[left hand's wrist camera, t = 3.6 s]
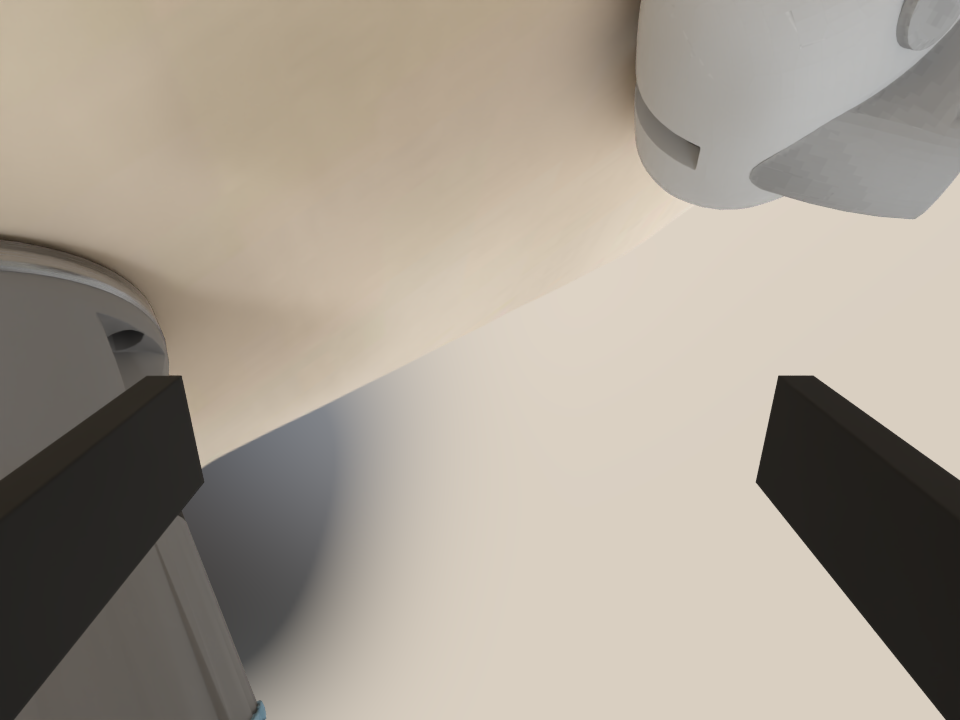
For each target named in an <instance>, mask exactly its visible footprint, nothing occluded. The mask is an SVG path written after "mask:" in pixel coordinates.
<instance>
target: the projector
mask: <svg viewBox="0 0 960 720" xmlns="http://www.w3.org/2000/svg"><path fill="white" fill-rule="evenodd" d="M636 79H637V80H636V87H635V108H634V117H635V139H636V146H637V151H638V154H639V157H640V159H641V161H642V164H643V166H644V167H645V169H646V171H647V172H648V173H649V175H650V176H651V177H652V179H653V180H654V181H655V182H656V183H657V184H658V185H659V186H660V187H661V188H663V189H664V190H665V191H666V192H668V193H669V194H671V195H672V196H674V197H676V198H678V199H681V200H683V201H686V202H688V203H691V204H694V205H698V206H701V207H706V208H712V209H719V210H720V209H743V208H749V207H754V206H757V205H761V204H764V203H767V202H770V201H773V200H776V199H778V198H781V197H783V196H786V197H789V198H793V199H796V200H800V201H803V202H807V203H811V204H815V205H819V206H824V207H828V208H832V209H837V210H841V211H846V212H853V213H859V214H865V215H872V216H878V217H891V218H904V219H916V218H917V217H918V216H920V215H921V214H923V213H924V212H925V211H926V210H927V209H928V208H929V207H930V206H931V205H932V204H933V203H934V202H935V201H936V200H937V199H938V198H939V197H940V196H941V194H942V193H943V192H944V191H945V190H946V189H947V188H948V186H949V185H950V184H951V183H952V181H953V180H954V179H955V178H956V176H957V175H958V174H959V173H960V0H641V4H640V11H639V20H638V32H637V48H636Z"/></svg>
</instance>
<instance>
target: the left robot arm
mask: <svg viewBox="0 0 960 720" xmlns="http://www.w3.org/2000/svg"><path fill="white" fill-rule="evenodd" d="M203 483H204V479H203V474H202V469H201V465H200V460H199V455H198V451H197V446H196V441H195V437H194V432H193V427H192V422H191V418H190V413H189V408H188V404H187V399H186V394H185V390H184V385H183V380H182V376H169V359H168V354H167V349H166V343H165V338H164V336H163V333H162V331H161V328H160V326H159V323H158V321H157V319H156V316H155V314H154V312H153V309H152V307H151V305H150V304H149V302H148V301H147V299H146V298H145V297H144V295H143V294H142V293H141V292H140V291H139V290H138V289H137V288H136V287H135V286H133V285H132V284H131V283H130V282H129V281H127V280H126V279H124V278H123V277H121V276H120V275H118V274H117V273H115V272H113V271H111V270H109V269H107V268H105V267H103V266H101V265H99V264H97V263H94V262H92V261H89V260H87V259H84V258H81V257H78V256H75V255H72V254H69V253H66V252H62V251H59V250H55V249H51V248H47V247H43V246H37V245H32V244H27V243H21V242H15V241H7V240H0V720H265V719H266V711H265V707H264V705H263V703H262V701H261V700H259V701H256V699H255V696H254V694H253V691H252V689H251V686H250V684H249V681H248V678H247V676H246V674H245V671H244V668H243V666H242V663H241V661H240V658H239V656H238V653H237V650H236V648H235V645H234V643H233V640H232V638H231V635H230V633H229V630H228V628H227V625H226V622H225V620H224V617H223V615H222V612H221V610H220V607H219V605H218V602H217V599H216V597H215V594H214V592H213V589H212V587H211V584H210V582H209V579H208V576H207V574H206V571H205V569H204V566H203V564H202V561H201V559H200V556H199V554H198V551H197V548H196V546H195V543H194V541H193V538H192V536H191V533H190V531H189V528H188V526H187V523H186V521H185V519H184V516H183V514H182V509H183V508H184V507H185V506H186V504H187V503H188V502H189V501H190V499H191V498H192V497H193V496H194V494H195V493H196V492H197V491H198V489H199V488H200V487H201V486H202V484H203ZM756 483H757V484H758V485H759V487H760V488H761V489H762V491H763V492H764V493H765V494H766V496H767V497H768V498H769V499H770V501H771V502H772V503H773V504H774V506H775V507H776V508H777V509H778V510H779V512H780V513H781V514H782V516H783V517H784V518H785V519H786V520H787V522H788V523H789V524H790V526H791V527H792V528H793V529H794V531H795V532H796V533H797V534H798V536H799V537H800V538H801V539H802V541H803V542H804V543H805V544H806V546H807V547H808V548H809V549H810V551H811V552H812V553H813V554H814V556H815V557H816V558H817V559H818V561H819V562H820V563H821V564H822V566H823V567H824V568H825V569H826V571H827V572H828V573H829V574H830V576H831V577H832V578H833V579H834V581H835V582H836V583H837V584H838V586H839V587H840V588H841V589H842V591H843V592H844V593H845V594H846V596H847V597H848V598H849V599H850V601H851V602H852V603H853V604H854V606H855V607H856V608H857V609H858V611H859V612H860V613H861V614H862V616H863V617H864V618H865V619H866V621H867V622H868V623H869V624H870V626H871V627H872V628H873V629H874V631H875V632H876V633H877V634H878V636H879V637H880V638H881V639H882V641H883V642H884V643H885V644H886V646H887V647H888V648H889V649H890V651H891V652H892V653H893V654H894V656H895V657H896V658H897V659H898V661H899V662H900V663H901V664H902V666H903V667H904V668H905V669H906V671H907V672H908V673H909V674H910V676H911V677H912V678H913V679H914V681H915V682H916V683H917V684H918V686H919V687H920V688H921V689H922V691H923V692H924V693H925V694H926V696H927V697H928V698H929V699H930V701H931V702H932V703H933V704H934V705H935V707H936V708H937V709H938V711H939V712H940V713H941V714H942V716H943V717H944V718H945V719H946V720H960V480H958V479H957V478H956V477H954V476H953V475H952V474H950V473H949V472H947V471H946V470H945V469H943V468H942V467H940V466H939V465H938V464H936V463H935V462H933V461H932V460H931V459H929V458H928V457H926V456H925V455H924V454H922V453H921V452H919V451H918V450H917V449H915V448H914V447H912V446H911V445H910V444H908V443H907V442H905V441H904V440H903V439H901V438H900V437H898V436H897V435H896V434H894V433H893V432H891V431H890V430H889V429H887V428H886V427H884V426H883V425H882V424H880V423H879V422H877V421H876V420H875V419H873V418H872V417H870V416H869V415H868V414H866V413H865V412H863V411H862V410H861V409H859V408H858V407H856V406H855V405H854V404H852V403H851V402H849V401H848V400H847V399H845V398H844V397H842V396H841V395H840V394H838V393H837V392H835V391H834V390H833V389H831V388H830V387H828V386H827V385H826V384H824V383H823V382H821V381H820V380H819V379H817V378H816V377H814V376H778V380H777V385H776V390H775V394H774V399H773V404H772V409H771V413H770V418H769V422H768V427H767V432H766V437H765V441H764V446H763V451H762V455H761V460H760V465H759V470H758V474H757V479H756Z"/></svg>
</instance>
